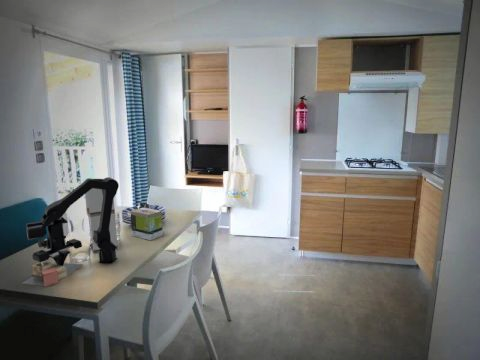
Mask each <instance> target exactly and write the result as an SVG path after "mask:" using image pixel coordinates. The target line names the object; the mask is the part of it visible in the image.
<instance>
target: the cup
mask: <svg viewBox="0 0 480 360" xmlns="http://www.w3.org/2000/svg"><path fill="white" fill-rule="evenodd" d="M67 211H68V210H67ZM67 211H66V212H65V213H64V215H63V216H62V217H63V218H64V219H66V220H67V221H68V222H67V223H63V231H64V236H67V235H68V233H69V234H70V230H69V220H68V212H67Z"/></svg>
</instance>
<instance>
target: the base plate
mask: <svg viewBox="0 0 480 360" xmlns="http://www.w3.org/2000/svg"><path fill="white" fill-rule="evenodd" d="M53 264H55V265H57V264H56V262H55V261H54V262H53ZM63 266H64V267H66V271H67V276H69V275H70V274H72V273H74V272H75V271H76V270H77V269H79V268H80V267H82V266H83V264H81V263H70V262H64V264H63ZM64 278H66V277H64ZM64 278H62V279H60V280H58V281H59V282H61V281H62V280H63V279H64ZM21 284H24V285H32V286H34V285H35V286H44V279H43V276H42V277H41V276H37V275H32V276H31V277H30V278H27V279H26V280H24V281H23V282H21ZM55 285H56V284H52V285H49V286H48V287H53V286H55ZM44 287H45V286H44Z"/></svg>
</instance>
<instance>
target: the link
mask: <svg viewBox="0 0 480 360" xmlns="http://www.w3.org/2000/svg"><path fill="white" fill-rule="evenodd" d="M45 263H46V265H43V266H41V262H37V263H35V264H31V271H32V272H31V273H32V276H34V275H37V276H41V277H42V276H43V274H42V273H41V271H43V270H47V269H51V268H54V267H55V268H56V270H57V272H58V280H60V279H62V278H63V279H64V277H65V278H67V277H68V275H67V271H66V267H64V266H59V265H55V264H54V263H52V262H49V261H45ZM63 279H62V280H63ZM60 281H61V280H60Z"/></svg>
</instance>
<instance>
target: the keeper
mask: <svg viewBox="0 0 480 360" xmlns="http://www.w3.org/2000/svg"><path fill="white" fill-rule="evenodd" d="M41 273H42V274H43V279H44V287H50V286H49V285H52V284H55V285H56V284H59V283H60V281H58V272H57V270H56V268H55V267H54V268H51V269H47V270H43V271H41Z"/></svg>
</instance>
